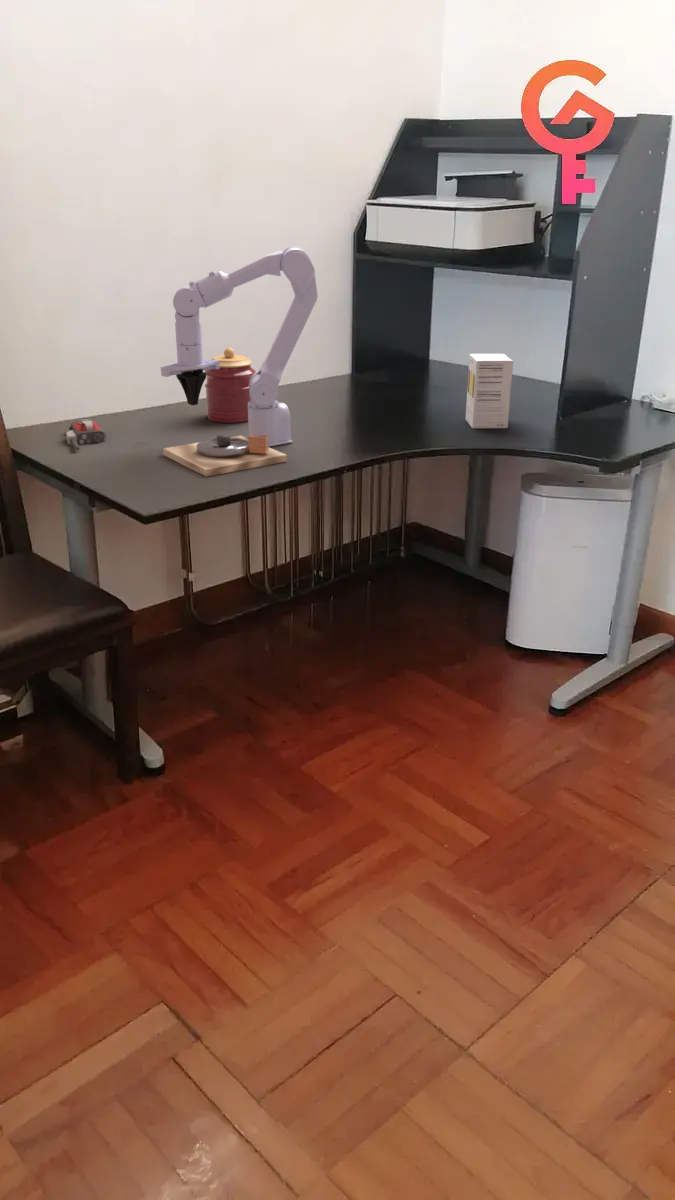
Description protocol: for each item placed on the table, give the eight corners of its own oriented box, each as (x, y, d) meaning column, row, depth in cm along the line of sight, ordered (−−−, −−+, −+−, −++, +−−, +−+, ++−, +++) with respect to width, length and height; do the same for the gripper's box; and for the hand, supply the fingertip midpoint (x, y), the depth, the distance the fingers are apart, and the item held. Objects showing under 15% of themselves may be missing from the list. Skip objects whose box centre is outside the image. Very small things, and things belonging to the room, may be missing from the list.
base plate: (241, 441, 223) (240, 420, 221) (286, 461, 208) (286, 439, 206) (163, 454, 213) (162, 433, 210) (206, 476, 198) (204, 453, 196)
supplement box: (464, 419, 244) (468, 353, 237) (499, 419, 245) (504, 352, 238) (472, 429, 235) (476, 360, 228) (508, 428, 236) (514, 359, 229)
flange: (188, 454, 205) (187, 439, 204) (207, 440, 216) (207, 425, 215) (259, 459, 202) (259, 443, 201) (275, 445, 213) (274, 429, 211)
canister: (203, 423, 239) (200, 352, 231) (209, 411, 250) (205, 343, 243) (255, 423, 239) (253, 352, 232) (258, 411, 251) (256, 343, 243)
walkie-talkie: (61, 434, 230) (73, 455, 214) (59, 416, 229) (71, 435, 212) (98, 430, 234) (112, 451, 217) (96, 413, 232) (110, 432, 215)
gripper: (205, 338, 218) (208, 396, 224) (151, 344, 209) (156, 405, 215) (223, 341, 214) (226, 401, 219) (169, 349, 205) (173, 411, 210)
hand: (192, 404), depth 217 cm, fingers closed
